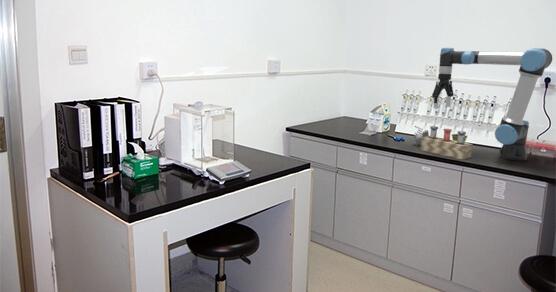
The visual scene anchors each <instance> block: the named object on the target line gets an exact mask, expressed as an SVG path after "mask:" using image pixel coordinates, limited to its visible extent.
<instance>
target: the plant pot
mask: <svg viewBox="0 0 556 292" xmlns="http://www.w3.org/2000/svg"><path fill="white" fill-rule="evenodd" d="M451 137H452V140H455V141H457V140H458V133H452V134H451ZM467 138H468V135H467V134H465V137H464V142H465V143H466V140H467Z"/></svg>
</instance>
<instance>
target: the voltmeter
mask: <svg viewBox="0 0 556 292" xmlns="http://www.w3.org/2000/svg"><path fill="white" fill-rule="evenodd" d="M414 128H416V129H417V131H416V132H414V135H413V138H414V139H415V143H416V146H418V147H419V146H421V138H422V137H426V136H430V134H429V130H427V129H426V130H424V131H423V128H420V127H418V126H416V125H415V126H414Z"/></svg>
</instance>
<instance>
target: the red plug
mask: <svg viewBox="0 0 556 292" xmlns="http://www.w3.org/2000/svg"><path fill="white" fill-rule="evenodd" d="M443 131H444V133H443V137H442V138H443V141H445V142H450V140H451V132H453V130H452V129H451V128H443Z"/></svg>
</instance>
